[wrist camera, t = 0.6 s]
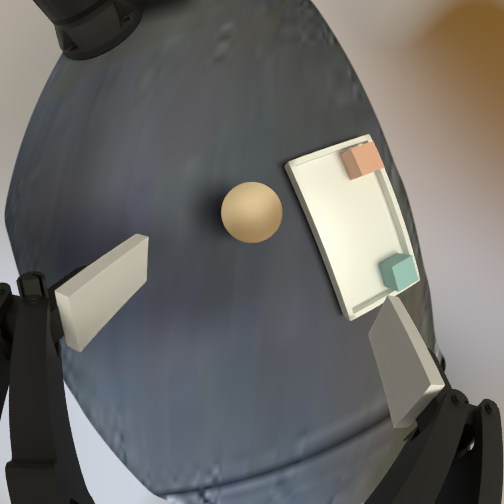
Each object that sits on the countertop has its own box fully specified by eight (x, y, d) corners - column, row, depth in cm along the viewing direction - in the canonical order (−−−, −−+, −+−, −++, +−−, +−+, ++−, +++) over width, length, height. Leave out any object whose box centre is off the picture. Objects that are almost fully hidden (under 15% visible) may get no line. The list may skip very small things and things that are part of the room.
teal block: (378, 263, 34) (391, 267, 31) (397, 253, 35) (412, 255, 31) (385, 286, 35) (398, 292, 31) (404, 275, 35) (418, 279, 31)
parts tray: (283, 166, 33) (288, 161, 31) (361, 139, 34) (369, 134, 31) (343, 315, 36) (350, 321, 33) (410, 277, 36) (420, 280, 34)
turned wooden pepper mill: (217, 206, 33) (211, 196, 22) (255, 190, 33) (267, 173, 23) (234, 244, 34) (236, 252, 23) (271, 228, 34) (291, 228, 23)
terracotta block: (339, 155, 33) (350, 148, 29) (360, 148, 33) (373, 140, 30) (350, 180, 33) (362, 175, 30) (371, 172, 33) (384, 167, 30)
